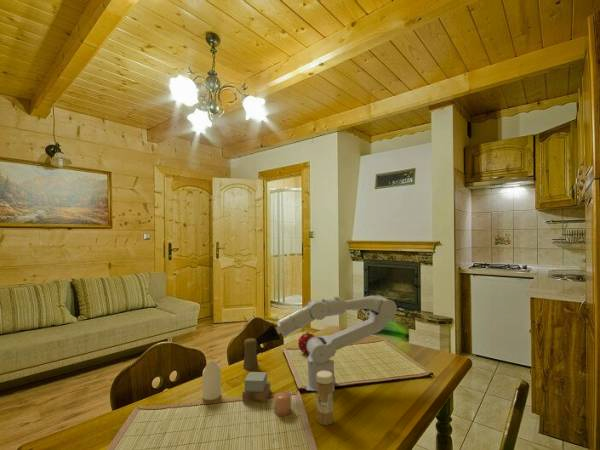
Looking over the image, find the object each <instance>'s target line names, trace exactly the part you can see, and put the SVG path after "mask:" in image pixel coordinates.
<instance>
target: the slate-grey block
mask: <svg viewBox="0 0 600 450" xmlns="http://www.w3.org/2000/svg"><path fill="white" fill-rule="evenodd" d="M267 381H268V372H264V371H263V372H262V371H249V372H248V374H247V376H246V377H245V379H244V388H245V391H249V392H263V391H264V389H265V386H266V384H267Z"/></svg>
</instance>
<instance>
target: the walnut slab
mask: <svg viewBox="0 0 600 450" xmlns="http://www.w3.org/2000/svg"><path fill="white" fill-rule="evenodd" d="M270 393H271V381H270V380H269V381H268V380H267V384H266V386H265V389H264V391H263V392H249V391H245V387H244V388H243V390H242V403H243V402H244V403H266V402H267V400H268V398H269V395H270Z"/></svg>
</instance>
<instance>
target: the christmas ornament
mask: <svg viewBox="0 0 600 450" xmlns="http://www.w3.org/2000/svg"><path fill="white" fill-rule="evenodd" d="M312 337H316V335H314V334H313V333H310V331H308V330H306V333H304V334H302V335H301V336H300V337H299V339H298V343H297V344H298V348H299V350H300V351H301V352H302V353H304V354H306V355H309V352H308V351H307V348H306V344H307V342H308V340H309V339H310V338H312Z"/></svg>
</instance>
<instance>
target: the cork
mask: <svg viewBox="0 0 600 450" xmlns="http://www.w3.org/2000/svg"><path fill="white" fill-rule="evenodd" d="M243 346H244V348H245V350H244V357H243V358H244V359H243V366H242V367H243V369H244V370H246V371H252V370H256V369H258V368H259V361H258V360H259V359H258V355H257V346H258V344H257V341H256V338H252V337H251V338H250V337H249V338H246V339H245V340H244V342H243Z"/></svg>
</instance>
